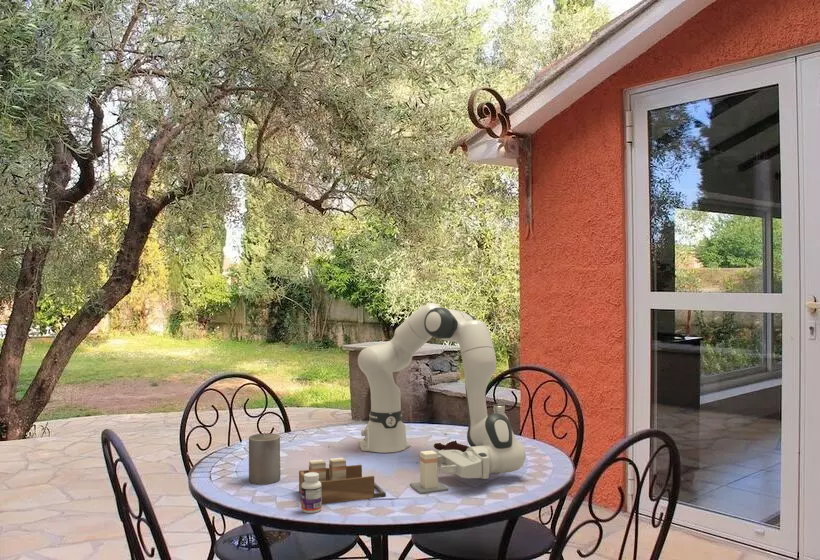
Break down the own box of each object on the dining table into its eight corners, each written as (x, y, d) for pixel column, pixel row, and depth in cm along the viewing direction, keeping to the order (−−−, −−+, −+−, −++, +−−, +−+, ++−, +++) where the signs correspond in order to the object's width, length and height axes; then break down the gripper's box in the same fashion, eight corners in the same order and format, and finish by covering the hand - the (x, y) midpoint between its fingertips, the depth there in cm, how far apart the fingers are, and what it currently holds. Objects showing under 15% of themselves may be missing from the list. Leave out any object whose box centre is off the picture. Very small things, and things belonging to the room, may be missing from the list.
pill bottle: (302, 507, 186) (302, 471, 186) (322, 506, 186) (321, 471, 186) (300, 513, 180) (300, 477, 180) (321, 513, 181) (320, 476, 181)
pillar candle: (253, 475, 217) (252, 429, 217) (283, 475, 216) (283, 428, 216) (245, 485, 207) (244, 436, 207) (276, 485, 207) (276, 436, 207)
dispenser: (299, 491, 200) (298, 457, 200) (371, 483, 208) (371, 450, 208) (308, 505, 187) (308, 469, 187) (385, 496, 195) (385, 461, 195)
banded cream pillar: (420, 484, 204) (419, 451, 204) (432, 483, 205) (432, 450, 205) (425, 488, 200) (424, 454, 200) (437, 487, 201) (437, 453, 201)
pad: (409, 485, 205) (409, 483, 205) (437, 482, 208) (437, 480, 208) (420, 494, 197) (420, 491, 197) (448, 490, 200) (448, 488, 200)
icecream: (476, 439, 238) (434, 441, 240) (475, 438, 231) (432, 441, 233) (478, 459, 236) (435, 462, 238) (477, 459, 229) (433, 462, 231)
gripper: (461, 443, 218) (421, 447, 213) (490, 458, 198) (447, 462, 194) (462, 463, 217) (421, 467, 213) (490, 480, 198) (447, 485, 194)
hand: (434, 465), depth 203 cm, fingers open, 8 cm apart
